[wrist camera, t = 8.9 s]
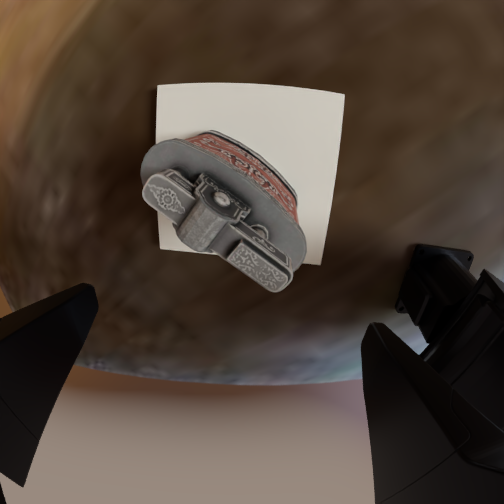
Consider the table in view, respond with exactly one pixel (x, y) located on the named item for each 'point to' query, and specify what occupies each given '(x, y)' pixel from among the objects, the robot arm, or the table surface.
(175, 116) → the coaster
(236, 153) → the lighter
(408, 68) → the table surface
